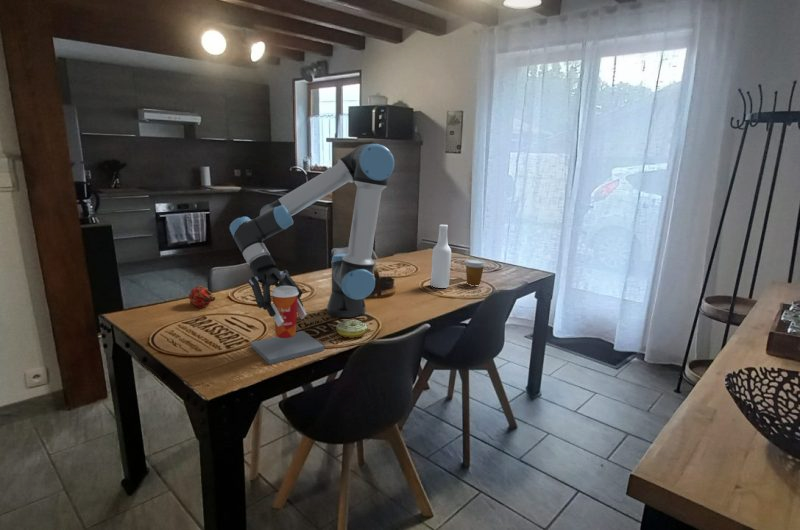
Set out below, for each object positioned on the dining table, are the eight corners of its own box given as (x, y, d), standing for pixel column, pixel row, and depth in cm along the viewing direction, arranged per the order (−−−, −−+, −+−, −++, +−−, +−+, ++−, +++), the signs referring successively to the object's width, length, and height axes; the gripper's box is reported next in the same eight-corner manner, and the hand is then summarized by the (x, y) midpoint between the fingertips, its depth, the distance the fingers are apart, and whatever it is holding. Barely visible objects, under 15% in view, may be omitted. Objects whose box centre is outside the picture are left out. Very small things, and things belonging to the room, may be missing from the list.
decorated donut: (371, 330, 162) (372, 321, 161) (358, 341, 152) (358, 331, 151) (345, 325, 165) (346, 316, 165) (331, 336, 156) (331, 325, 155)
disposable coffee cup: (486, 286, 222) (488, 262, 219) (469, 288, 218) (471, 264, 215) (476, 281, 230) (478, 258, 227) (460, 282, 227) (461, 259, 224)
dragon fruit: (196, 305, 185) (210, 316, 177) (178, 297, 178) (192, 309, 171) (208, 287, 186) (222, 298, 179) (191, 278, 179) (205, 289, 172)
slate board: (302, 334, 155) (302, 330, 155) (324, 350, 144) (324, 346, 144) (251, 346, 144) (250, 342, 144) (269, 364, 133) (269, 359, 133)
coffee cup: (266, 335, 141) (265, 289, 138) (284, 327, 148) (284, 283, 145) (287, 341, 138) (286, 294, 134) (305, 333, 145) (304, 288, 141)
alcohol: (429, 288, 215) (432, 225, 208) (432, 283, 224) (435, 223, 216) (447, 290, 213) (451, 227, 206) (450, 285, 222) (454, 224, 214)
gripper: (281, 261, 156) (312, 317, 150) (225, 272, 139) (258, 335, 134) (291, 249, 151) (324, 306, 146) (234, 258, 135) (269, 323, 129)
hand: (292, 320), depth 140 cm, fingers closed on coffee cup, 8 cm apart
